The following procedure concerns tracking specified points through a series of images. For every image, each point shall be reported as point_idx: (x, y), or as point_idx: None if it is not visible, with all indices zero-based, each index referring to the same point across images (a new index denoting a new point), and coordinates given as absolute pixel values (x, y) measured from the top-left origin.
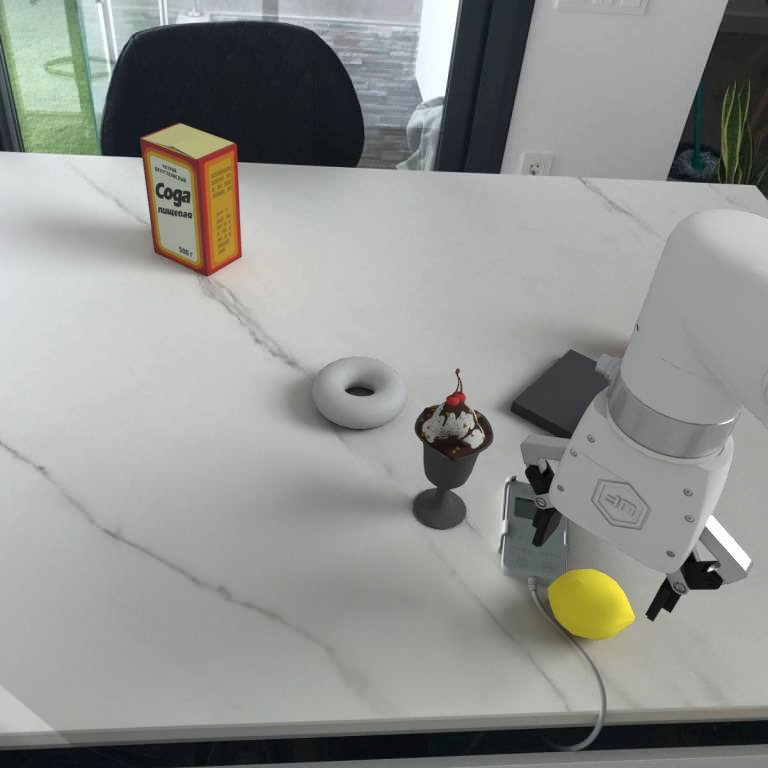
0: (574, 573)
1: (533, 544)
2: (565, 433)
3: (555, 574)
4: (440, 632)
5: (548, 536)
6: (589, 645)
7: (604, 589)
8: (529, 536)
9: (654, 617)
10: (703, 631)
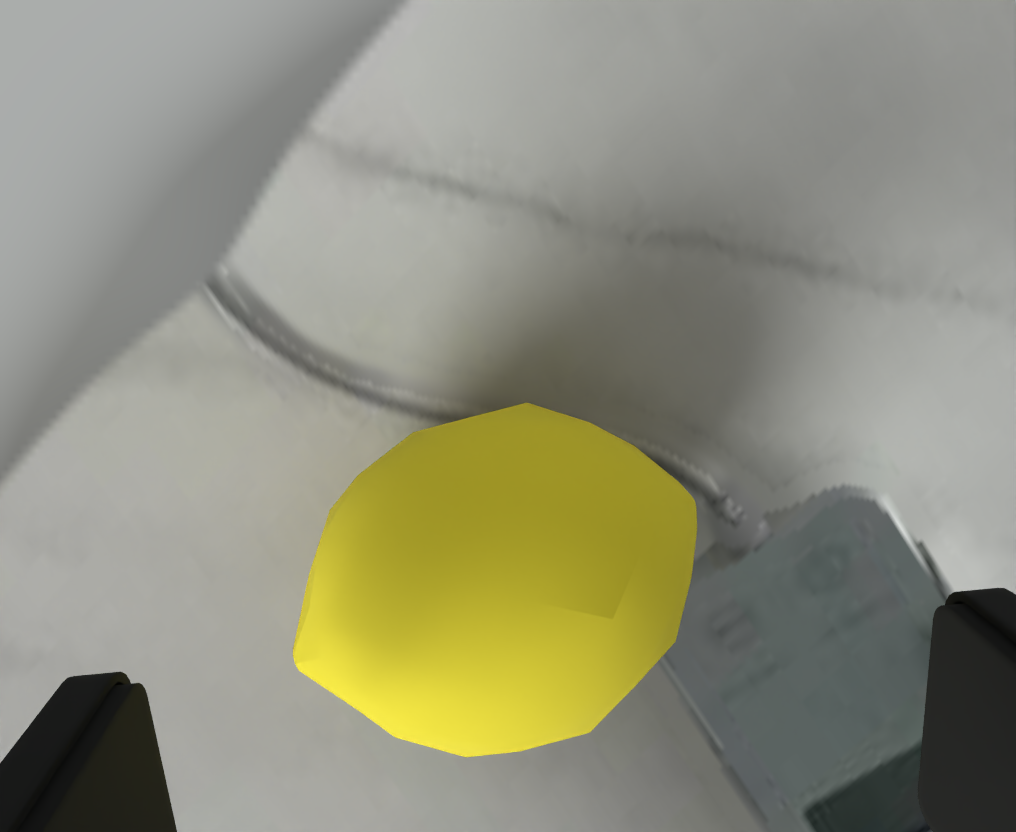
0: (647, 640)
1: (988, 590)
2: None
3: (690, 621)
4: (925, 12)
5: (945, 708)
6: None
7: (464, 667)
8: (864, 687)
9: (49, 704)
10: None
